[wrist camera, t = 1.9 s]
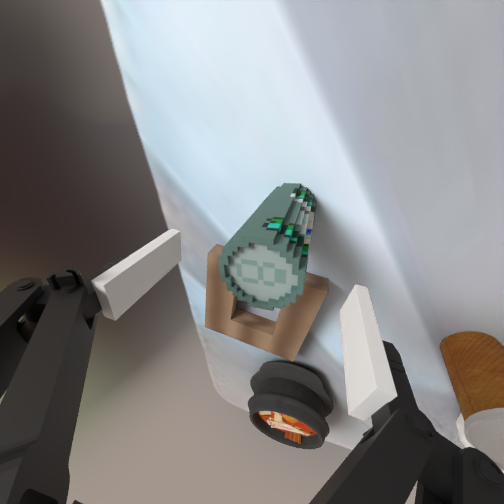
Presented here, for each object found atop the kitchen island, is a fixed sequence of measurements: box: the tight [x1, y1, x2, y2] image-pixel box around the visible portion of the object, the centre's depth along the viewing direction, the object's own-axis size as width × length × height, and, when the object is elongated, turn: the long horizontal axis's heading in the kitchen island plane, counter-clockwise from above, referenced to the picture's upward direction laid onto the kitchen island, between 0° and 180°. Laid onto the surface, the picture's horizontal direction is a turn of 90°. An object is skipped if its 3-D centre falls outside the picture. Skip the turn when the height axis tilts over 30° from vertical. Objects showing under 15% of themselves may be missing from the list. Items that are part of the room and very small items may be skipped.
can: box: [218, 183, 316, 311], centre depth 20 cm, size 6×6×15 cm
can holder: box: [205, 244, 328, 361], centre depth 35 cm, size 18×18×3 cm
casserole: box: [248, 361, 333, 449], centre depth 44 cm, size 25×19×8 cm
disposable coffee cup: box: [440, 332, 504, 471], centre depth 24 cm, size 10×10×12 cm
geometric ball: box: [456, 413, 504, 473], centre depth 31 cm, size 8×8×8 cm
